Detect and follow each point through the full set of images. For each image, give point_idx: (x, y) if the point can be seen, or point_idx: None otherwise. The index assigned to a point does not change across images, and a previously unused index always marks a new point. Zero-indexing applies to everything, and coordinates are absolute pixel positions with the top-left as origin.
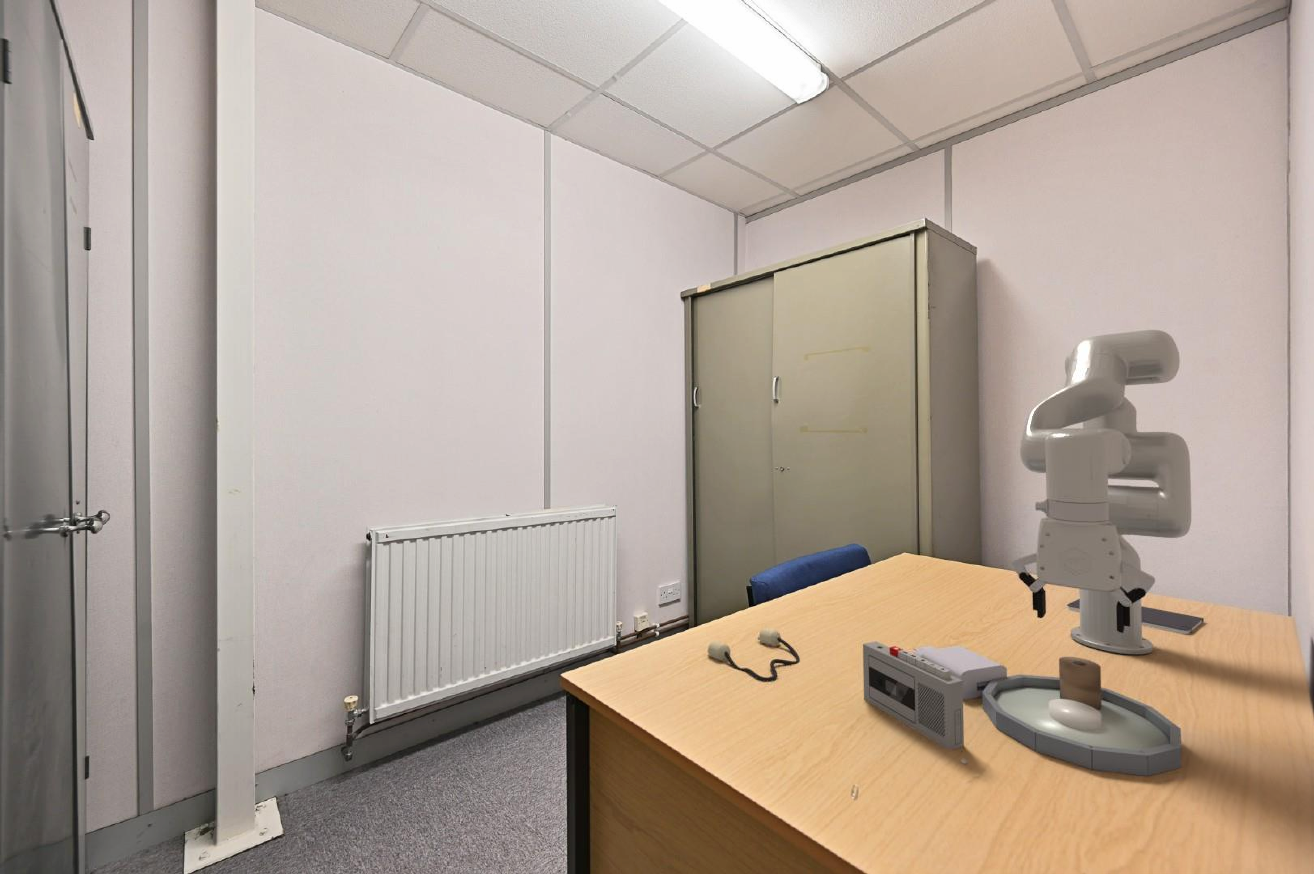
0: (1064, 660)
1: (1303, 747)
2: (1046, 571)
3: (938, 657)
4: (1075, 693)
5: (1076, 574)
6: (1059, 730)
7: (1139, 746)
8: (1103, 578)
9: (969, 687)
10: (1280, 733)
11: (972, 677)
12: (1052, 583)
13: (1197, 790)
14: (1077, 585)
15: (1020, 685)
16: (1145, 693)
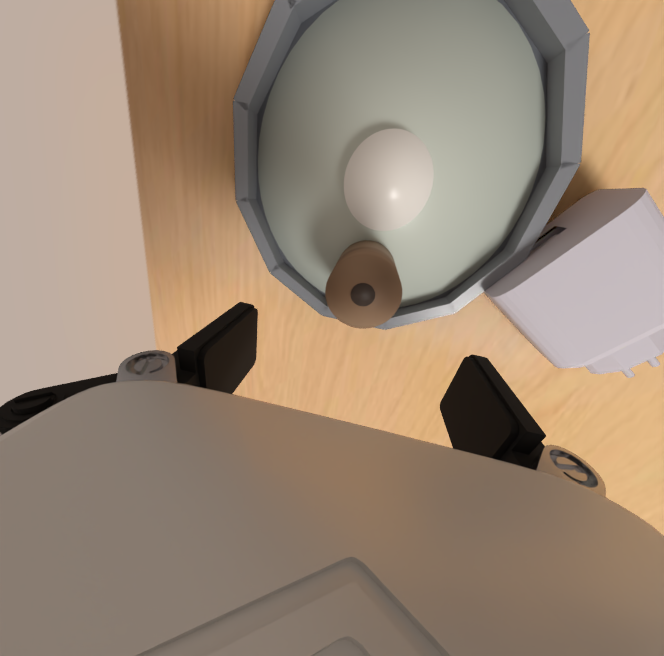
0: (391, 297)
1: (149, 287)
2: None
3: None
4: (376, 246)
5: (347, 575)
6: (426, 94)
7: (297, 116)
8: (74, 489)
9: (584, 210)
10: (168, 314)
11: (593, 218)
12: (531, 470)
13: (230, 11)
14: (351, 435)
15: (453, 291)
16: (282, 363)
